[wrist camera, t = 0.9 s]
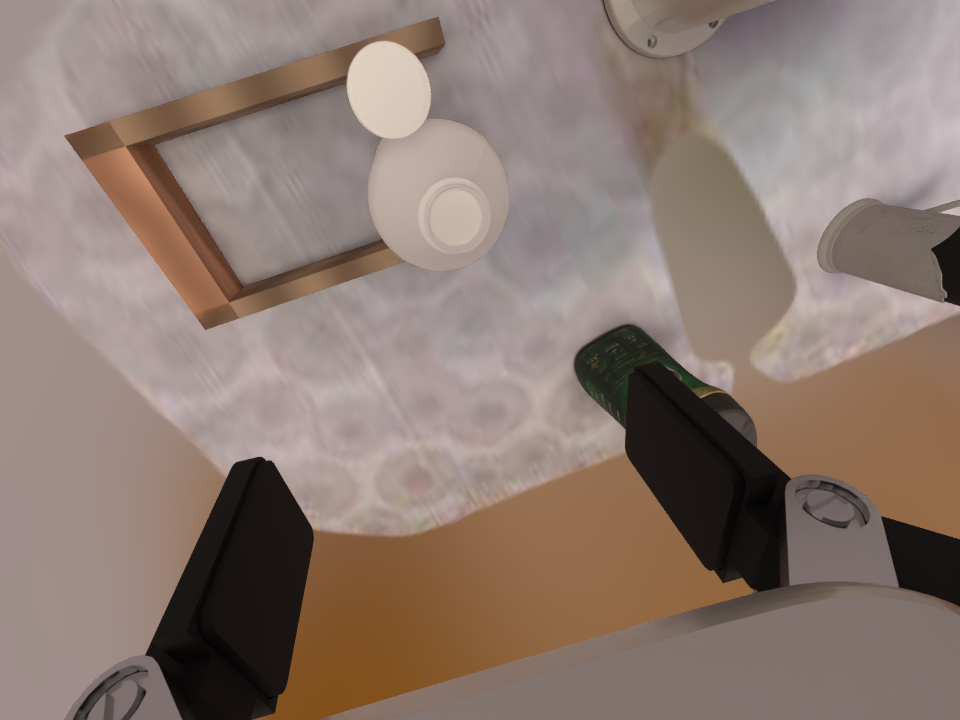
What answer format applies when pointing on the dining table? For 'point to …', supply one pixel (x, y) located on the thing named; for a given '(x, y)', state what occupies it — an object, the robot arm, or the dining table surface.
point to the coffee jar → (631, 346)
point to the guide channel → (171, 218)
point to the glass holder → (896, 248)
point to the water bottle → (424, 166)
